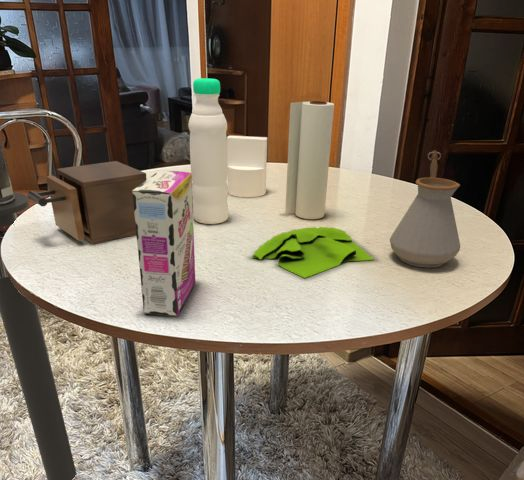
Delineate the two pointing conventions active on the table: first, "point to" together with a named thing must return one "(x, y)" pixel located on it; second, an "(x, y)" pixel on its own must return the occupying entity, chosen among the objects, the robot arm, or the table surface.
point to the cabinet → (107, 198)
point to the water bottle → (208, 154)
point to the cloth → (311, 250)
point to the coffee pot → (428, 223)
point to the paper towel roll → (308, 158)
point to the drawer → (65, 205)
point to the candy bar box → (165, 241)
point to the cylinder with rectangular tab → (246, 165)
